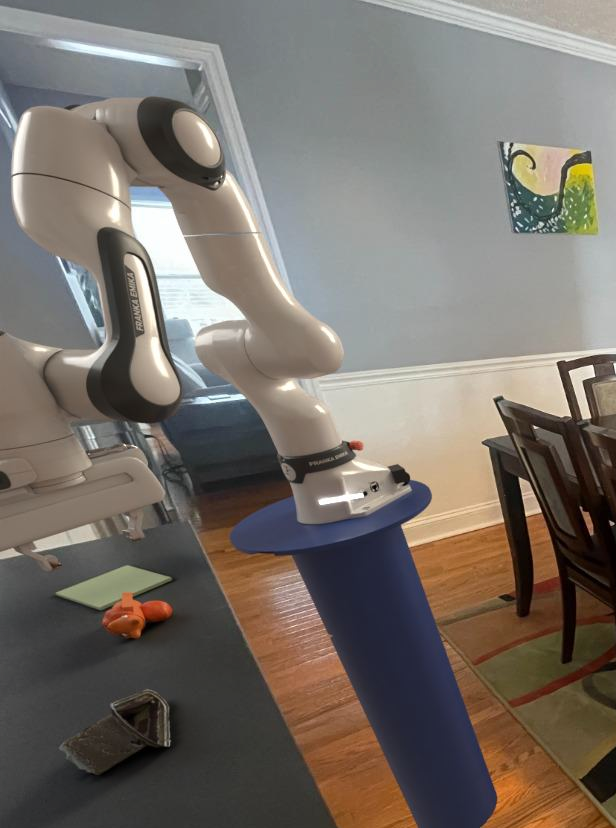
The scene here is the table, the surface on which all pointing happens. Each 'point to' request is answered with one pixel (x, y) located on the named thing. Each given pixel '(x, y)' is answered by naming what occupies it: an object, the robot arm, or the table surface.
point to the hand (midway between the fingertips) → (96, 553)
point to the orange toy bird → (134, 616)
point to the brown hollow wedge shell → (121, 733)
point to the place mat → (113, 587)
